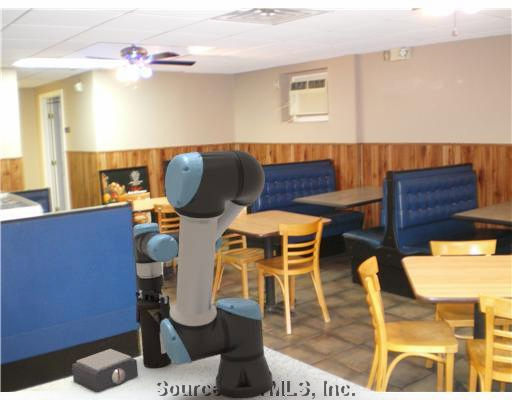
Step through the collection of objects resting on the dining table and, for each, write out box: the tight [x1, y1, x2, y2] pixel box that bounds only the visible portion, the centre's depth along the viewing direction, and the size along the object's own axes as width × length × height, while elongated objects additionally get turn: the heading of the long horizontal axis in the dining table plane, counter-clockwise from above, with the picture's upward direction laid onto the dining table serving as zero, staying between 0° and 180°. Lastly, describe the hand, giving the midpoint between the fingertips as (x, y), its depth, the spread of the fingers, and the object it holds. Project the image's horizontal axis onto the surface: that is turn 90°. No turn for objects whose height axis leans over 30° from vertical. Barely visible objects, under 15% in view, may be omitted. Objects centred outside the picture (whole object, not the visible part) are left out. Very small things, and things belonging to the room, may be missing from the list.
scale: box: [71, 348, 139, 393], centre depth 158 cm, size 14×13×6 cm
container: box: [136, 299, 172, 368], centre depth 167 cm, size 9×9×20 cm
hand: (156, 348), depth 168 cm, fingers closed on container, 8 cm apart
